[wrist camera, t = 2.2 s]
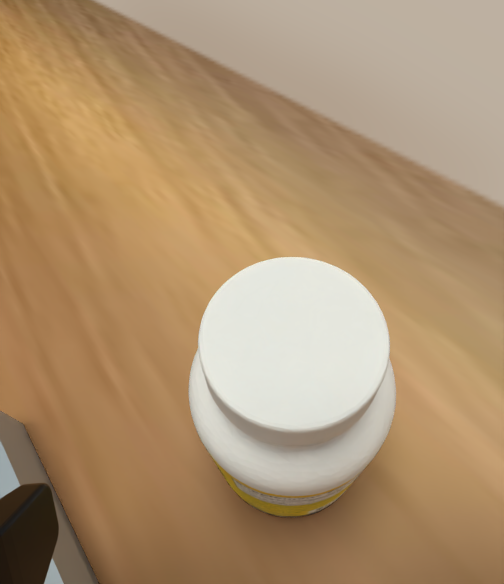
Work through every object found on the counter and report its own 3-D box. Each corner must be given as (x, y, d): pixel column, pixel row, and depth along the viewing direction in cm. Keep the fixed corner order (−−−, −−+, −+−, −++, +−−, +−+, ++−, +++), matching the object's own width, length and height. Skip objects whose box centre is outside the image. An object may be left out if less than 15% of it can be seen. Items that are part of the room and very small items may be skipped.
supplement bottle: (229, 368, 20) (194, 219, 11) (359, 384, 19) (425, 239, 11) (203, 508, 17) (134, 448, 9) (355, 532, 16) (439, 492, 8)
